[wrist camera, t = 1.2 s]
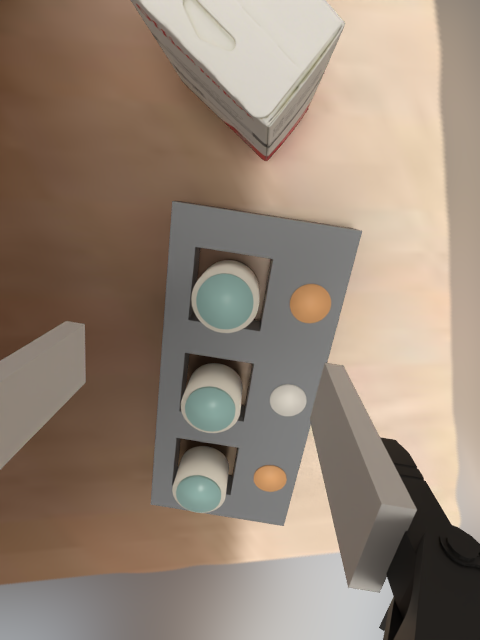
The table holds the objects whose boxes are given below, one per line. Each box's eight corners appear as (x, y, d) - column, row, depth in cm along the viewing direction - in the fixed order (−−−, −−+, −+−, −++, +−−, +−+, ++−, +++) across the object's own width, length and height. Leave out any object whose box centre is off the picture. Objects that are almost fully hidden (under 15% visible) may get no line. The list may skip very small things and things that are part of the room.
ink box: (311, 108, 24) (357, 24, 13) (265, 164, 25) (269, 133, 14) (220, 11, 22) (180, -184, 11) (176, 77, 23) (102, -37, 12)
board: (157, 484, 36) (150, 505, 34) (180, 201, 26) (171, 201, 24) (282, 505, 36) (283, 527, 34) (352, 228, 26) (362, 231, 24)
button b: (186, 405, 30) (177, 430, 27) (191, 359, 28) (182, 379, 25) (238, 413, 30) (235, 439, 27) (246, 367, 28) (244, 389, 25)
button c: (196, 313, 27) (187, 329, 24) (202, 255, 25) (194, 263, 22) (254, 322, 27) (253, 339, 24) (264, 265, 25) (264, 274, 22)
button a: (178, 480, 33) (169, 511, 30) (182, 442, 31) (173, 470, 28) (225, 488, 33) (221, 519, 30) (232, 450, 31) (228, 479, 28)
